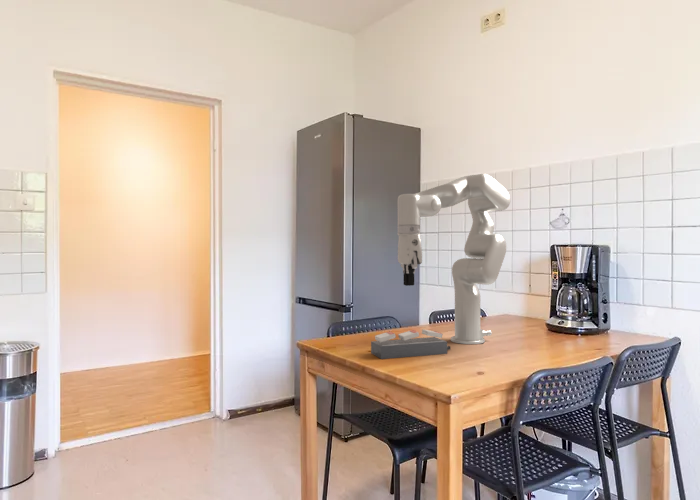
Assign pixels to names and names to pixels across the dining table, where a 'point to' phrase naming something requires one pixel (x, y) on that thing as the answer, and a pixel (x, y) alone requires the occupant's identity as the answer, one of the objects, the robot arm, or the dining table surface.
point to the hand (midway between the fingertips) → (408, 285)
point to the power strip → (409, 347)
